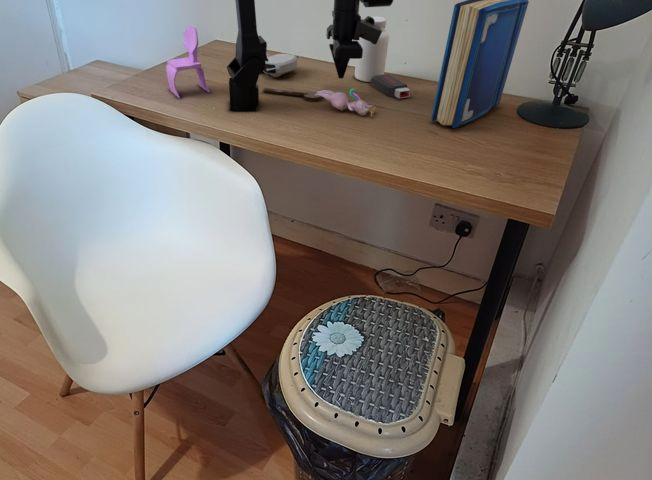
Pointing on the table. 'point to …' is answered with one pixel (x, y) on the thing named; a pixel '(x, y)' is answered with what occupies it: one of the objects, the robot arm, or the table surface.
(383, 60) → the pill bottle
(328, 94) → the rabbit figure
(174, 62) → the toy chair
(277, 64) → the robot toy
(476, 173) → the table surface
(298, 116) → the table surface
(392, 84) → the usb drive
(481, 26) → the book
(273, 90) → the spoon
